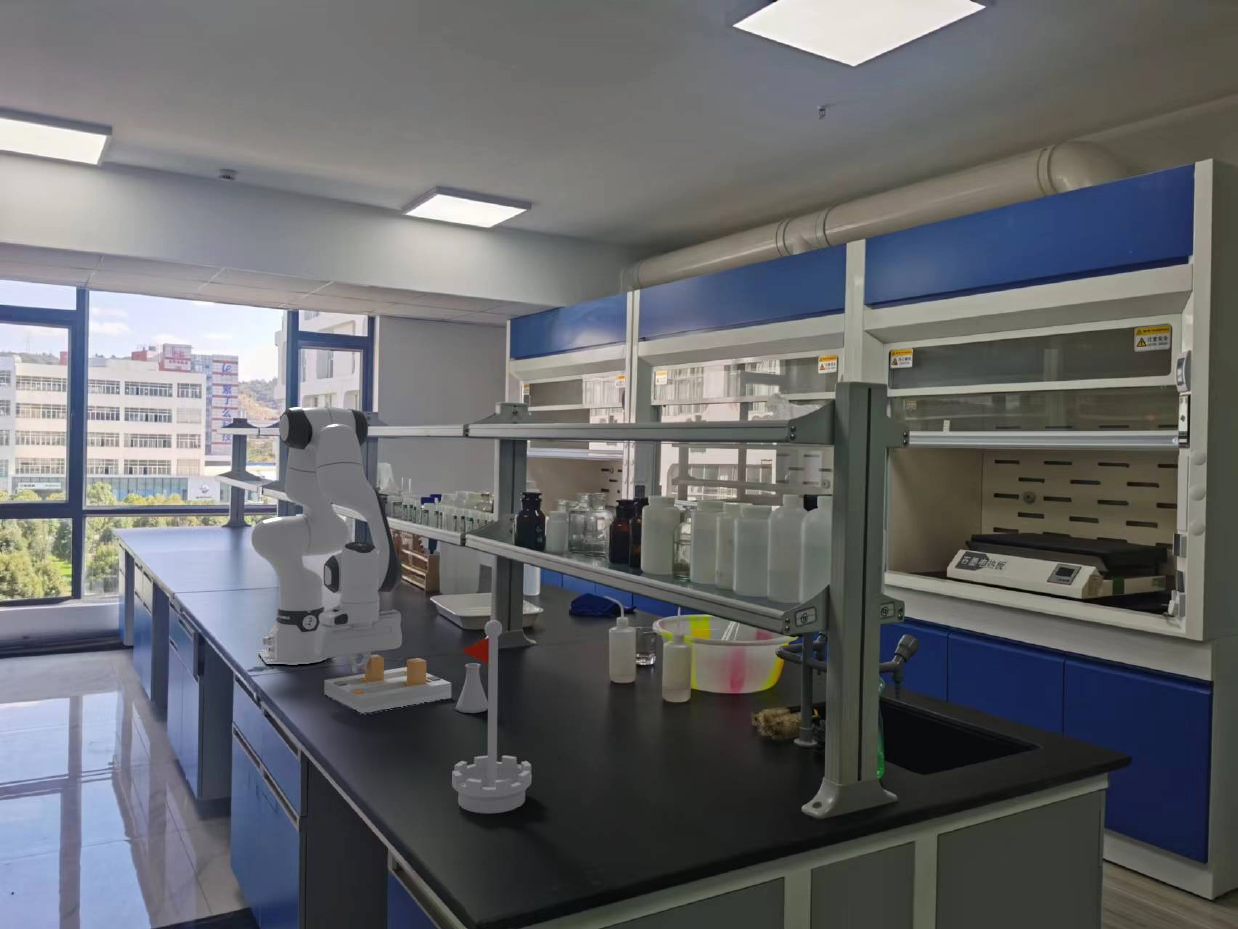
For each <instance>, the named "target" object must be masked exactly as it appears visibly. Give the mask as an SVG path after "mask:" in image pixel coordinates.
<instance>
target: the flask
mask: <svg viewBox="0 0 1238 929" xmlns="http://www.w3.org/2000/svg"><path fill="white" fill-rule="evenodd" d="M464 667H465V669H466V674H465V679H464V684H463V687H462V689H461V693H460V695H459V698H458V701H457V703H456V706H455V709H454V710H456V711H458V712H460V713H468V714H477V713H482V712H486V711H488V699H487V698H488V697H487V696H486V694H485V691H484V687H483V685H482V681H481V676H480V668H481V664H480V663H474V662H472V663H471V662H470V663H467V664H465V666H464Z"/></svg>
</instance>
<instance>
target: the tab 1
mask: <svg viewBox="0 0 1238 929" xmlns="http://www.w3.org/2000/svg"><path fill="white" fill-rule="evenodd" d="M384 671H385V657H384V656H381V655H379V654H371V658H370V660H369V662H368V664H367V671H366V672H364V674H365V678H363V683H367V682H373V681H379V680H385V679H384Z"/></svg>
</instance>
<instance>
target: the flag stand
mask: <svg viewBox="0 0 1238 929" xmlns="http://www.w3.org/2000/svg"><path fill="white" fill-rule="evenodd" d="M484 633H485V635H486V636H487V637H486V638H484V639H482V640H481V641H478V642H477V643H475V644H472V645H470V646H468V647H465V648H464V649H462V650H461V652H463V653H465V654H467V655H469V656H471V657H473V658H475V659H477V660H479V661H481V662H484V663H485V664H487V665H488V671H487V672H488V677H487V680H488V682H487V683H488V684H487V685H488V686H487V687H488V688H487V689H488V690H487V692H488V693H487V698H488V699H487V701H488V709H487V755H480V756H474V757H473V758H474V759H473V761H474V762H473V764H469V765H468V762H467V761H466V760H465V761H464V760H461V761H459V762H457V763H456V764H454V770H452V771H451V777H452V779H451V786H452V788H453V789H454V790H455V791H456V792H457V793H458V796H457V797H458V799H457V801H458V805H459V807H461V808H462V809H463V810H466V811H469V812H473V813H479V814H498V813H499V814H501V813H504V812H509V811H513V810H516V809H517V807H518V808H519V807H521V806H522V805H523V804H524V803H525V802H526V790H527V788H529V787H530V786H531V784H532V764H531V763H530V762H528V761H527V760H524V761H521V762H520V764H519V763H517V760H518V759H517V756H512V755H502V756H501V761H498V759H497V758H498V687H499V686H498V683H499V682H498V668H499V667H498V666H499V665H498V664H499V662H498V661H499V660H498V658H499V636H501V634H502V633H503V625H502V623H501V622H500V621H499V620H496V619H491V620H489V621H487V622H486V624H485V625H484Z"/></svg>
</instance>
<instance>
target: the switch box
mask: <svg viewBox="0 0 1238 929" xmlns="http://www.w3.org/2000/svg"><path fill="white" fill-rule="evenodd" d="M363 678H365V673H361V674H356V675H355V674H354V675H350V676H343V677H336V678H328V679H324V680H323V681H324V684H323V685H324V686H323V687H324V690H323V691H324V692H325V693H326V694H329V695H330V696H333V697H334V698H335V699H338V700H339V701H340V702H343V703H344V704H347V705H348V706H350V707H352V708H353V709H356V710H357V711H358V712H361V713H364V712H373V711H377V710H381V709H390V708H394V707H401V708H404V707H403V706H406V707H408V706H407V705H411V706H413V705H412V704H416V705H421V704H420V703H422V704H425V703H424V702H427V703H432V702H436V700H437V701H441V700H440V699H443V700H447V699H451V698H452V682H450V681H447V680H445V679H442V678H440V677H438V676H435V675H432V674H431V673H427V672H426V682H427V683H426V684H420V685H414V686H409V687H405V682H407V666H404V667H400V668H399V667H398V668H392V669H386V670H385V669H384V679H385V680H379V681H373V682H367V683H363ZM324 692H323V693H324ZM390 710H391V709H390Z"/></svg>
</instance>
